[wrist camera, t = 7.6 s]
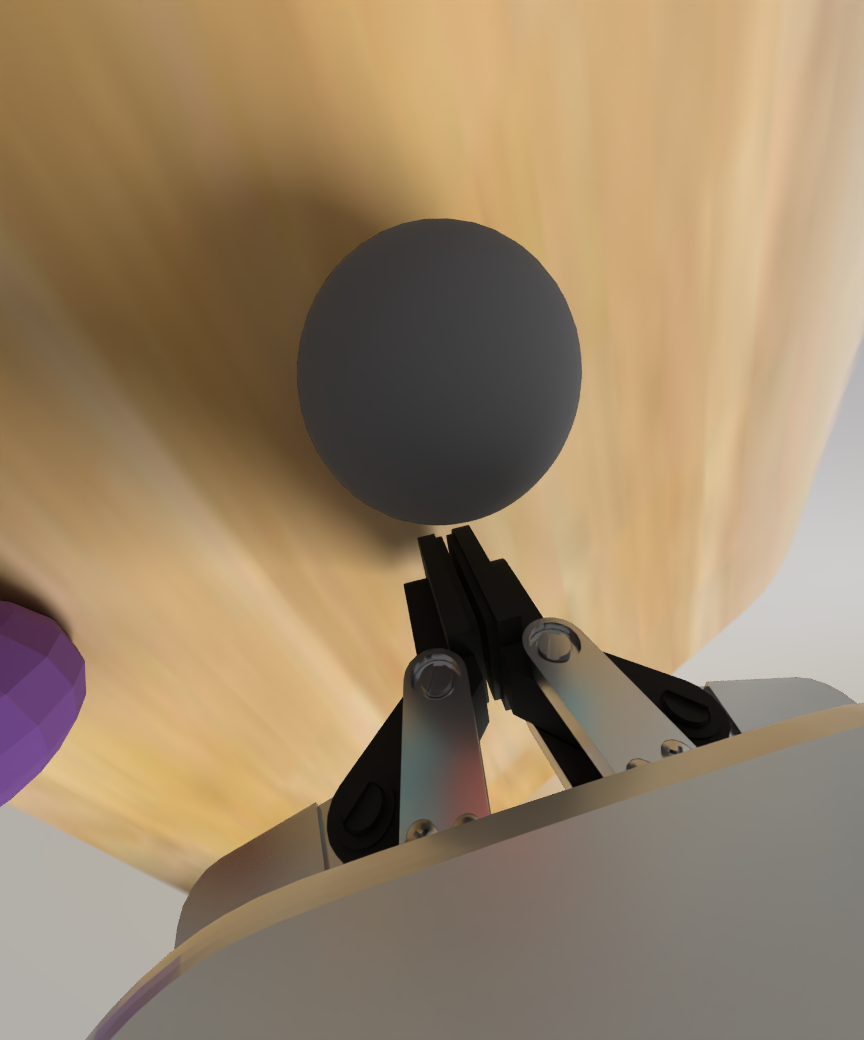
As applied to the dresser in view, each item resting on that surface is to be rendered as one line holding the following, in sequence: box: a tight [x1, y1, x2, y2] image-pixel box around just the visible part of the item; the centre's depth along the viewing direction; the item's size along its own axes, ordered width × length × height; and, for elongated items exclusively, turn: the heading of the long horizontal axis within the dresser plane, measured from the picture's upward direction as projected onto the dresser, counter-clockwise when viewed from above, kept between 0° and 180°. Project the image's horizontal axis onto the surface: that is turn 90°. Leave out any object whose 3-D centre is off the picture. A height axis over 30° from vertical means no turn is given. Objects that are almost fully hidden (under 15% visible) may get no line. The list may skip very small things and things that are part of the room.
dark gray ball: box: [297, 219, 582, 525], centre depth 7 cm, size 6×6×6 cm
